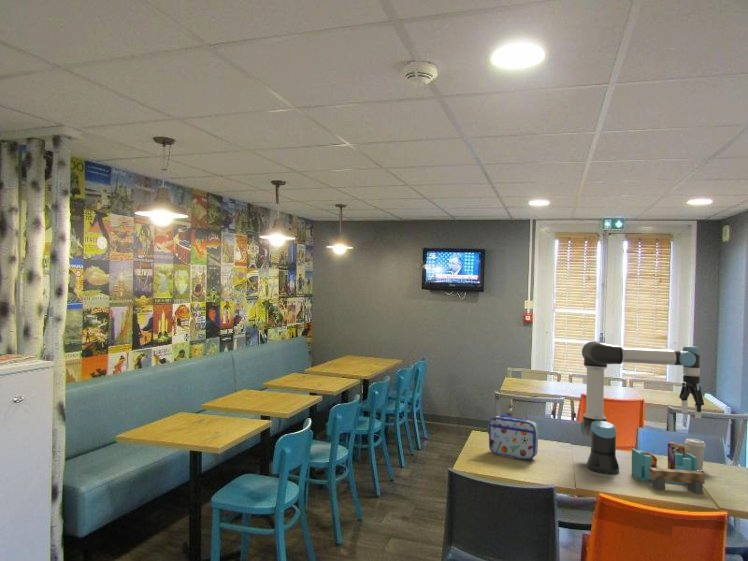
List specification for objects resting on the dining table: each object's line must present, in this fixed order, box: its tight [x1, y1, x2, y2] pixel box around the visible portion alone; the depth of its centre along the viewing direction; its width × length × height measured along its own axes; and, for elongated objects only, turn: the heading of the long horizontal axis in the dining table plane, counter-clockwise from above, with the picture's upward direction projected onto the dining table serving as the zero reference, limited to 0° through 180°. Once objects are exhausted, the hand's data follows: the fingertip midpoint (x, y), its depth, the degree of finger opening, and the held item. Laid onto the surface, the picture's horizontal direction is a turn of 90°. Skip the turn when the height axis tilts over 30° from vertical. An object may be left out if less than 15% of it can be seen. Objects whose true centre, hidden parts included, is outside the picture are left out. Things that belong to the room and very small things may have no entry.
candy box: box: [667, 441, 689, 469], centre depth 250 cm, size 9×4×15 cm, turn 26°
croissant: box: [644, 451, 658, 468], centre depth 266 cm, size 21×10×8 cm, turn 169°
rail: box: [649, 467, 706, 485], centre depth 228 cm, size 22×4×4 cm, turn 83°
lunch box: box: [486, 413, 539, 461], centre depth 271 cm, size 28×10×22 cm, turn 58°
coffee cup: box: [684, 438, 707, 472], centre depth 261 cm, size 10×10×15 cm
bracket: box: [631, 447, 697, 486], centre depth 241 cm, size 26×9×13 cm, turn 83°
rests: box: [651, 478, 704, 495], centre depth 228 cm, size 19×7×5 cm, turn 83°
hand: (691, 415), depth 262 cm, fingers open, 13 cm apart
